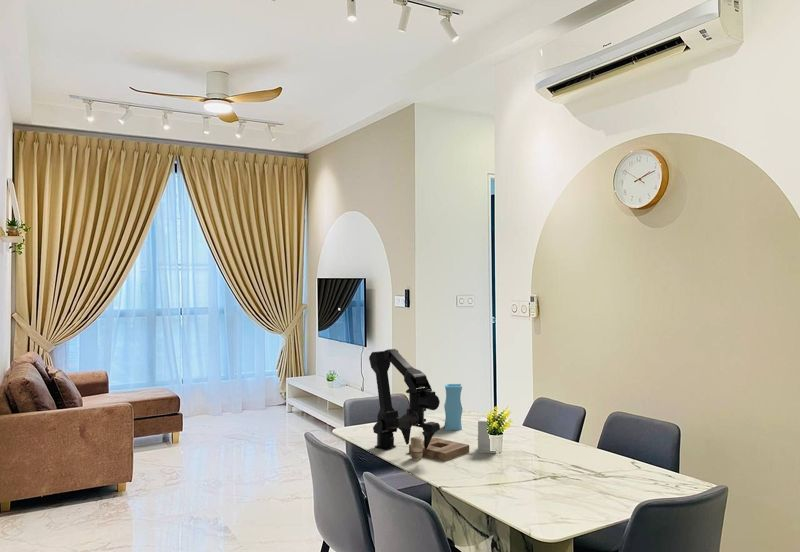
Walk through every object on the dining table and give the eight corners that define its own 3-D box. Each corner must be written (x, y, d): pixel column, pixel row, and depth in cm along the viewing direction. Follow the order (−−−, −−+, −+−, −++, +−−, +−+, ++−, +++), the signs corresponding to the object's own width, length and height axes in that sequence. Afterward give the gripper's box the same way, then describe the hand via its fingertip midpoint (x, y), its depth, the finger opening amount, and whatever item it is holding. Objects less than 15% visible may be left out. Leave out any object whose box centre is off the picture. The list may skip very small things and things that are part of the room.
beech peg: (407, 459, 233) (407, 438, 233) (415, 456, 236) (415, 435, 236) (417, 461, 230) (417, 440, 230) (425, 458, 233) (425, 438, 233)
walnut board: (409, 452, 242) (409, 444, 242) (433, 444, 254) (433, 437, 254) (445, 461, 230) (445, 453, 230) (469, 452, 242) (469, 444, 242)
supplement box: (496, 453, 240) (496, 421, 241) (477, 452, 242) (477, 421, 242) (497, 448, 248) (497, 417, 248) (478, 447, 249) (478, 417, 249)
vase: (462, 430, 279) (462, 386, 279) (445, 430, 279) (445, 386, 279) (460, 426, 287) (461, 383, 287) (444, 426, 287) (444, 383, 287)
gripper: (384, 405, 233) (384, 446, 233) (422, 412, 221) (422, 455, 221) (403, 401, 242) (403, 440, 241) (440, 408, 229) (440, 449, 229)
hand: (416, 446), depth 233 cm, fingers open, 9 cm apart
